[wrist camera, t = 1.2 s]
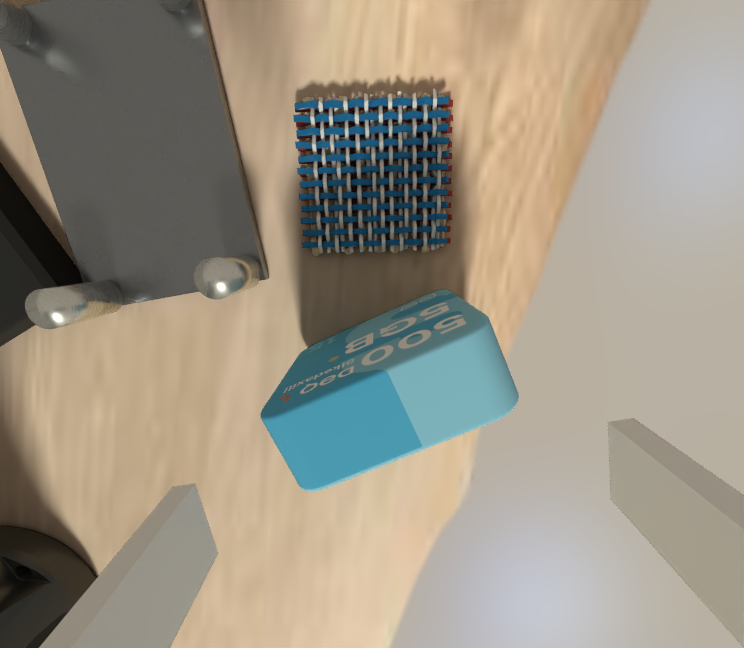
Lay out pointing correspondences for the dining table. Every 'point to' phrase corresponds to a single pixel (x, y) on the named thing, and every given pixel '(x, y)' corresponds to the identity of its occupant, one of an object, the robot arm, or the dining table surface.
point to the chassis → (132, 152)
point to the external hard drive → (26, 258)
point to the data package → (389, 390)
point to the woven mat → (375, 171)
